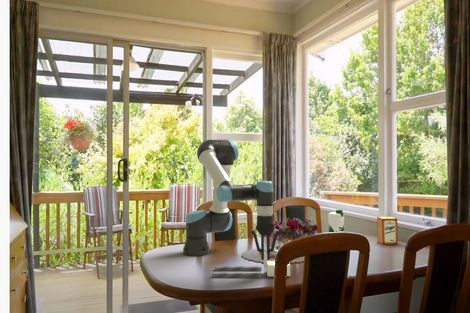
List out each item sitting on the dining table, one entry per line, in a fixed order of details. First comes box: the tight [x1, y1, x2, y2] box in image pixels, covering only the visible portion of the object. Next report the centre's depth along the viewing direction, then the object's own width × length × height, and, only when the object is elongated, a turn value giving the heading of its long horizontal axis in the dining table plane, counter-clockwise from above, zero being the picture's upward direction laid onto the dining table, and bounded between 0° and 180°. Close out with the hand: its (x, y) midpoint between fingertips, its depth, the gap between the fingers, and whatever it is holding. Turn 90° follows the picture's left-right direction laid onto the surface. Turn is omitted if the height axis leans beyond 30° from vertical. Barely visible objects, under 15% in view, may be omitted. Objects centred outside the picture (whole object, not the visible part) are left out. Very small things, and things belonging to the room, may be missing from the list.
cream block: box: [266, 260, 291, 278], centre depth 162 cm, size 10×7×5 cm
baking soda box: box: [376, 216, 399, 245], centre depth 222 cm, size 10×6×16 cm
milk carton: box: [327, 209, 345, 233], centre depth 229 cm, size 9×9×20 cm
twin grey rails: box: [211, 265, 263, 279], centre depth 164 cm, size 22×12×2 cm, turn 87°
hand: (265, 266), depth 163 cm, fingers closed
